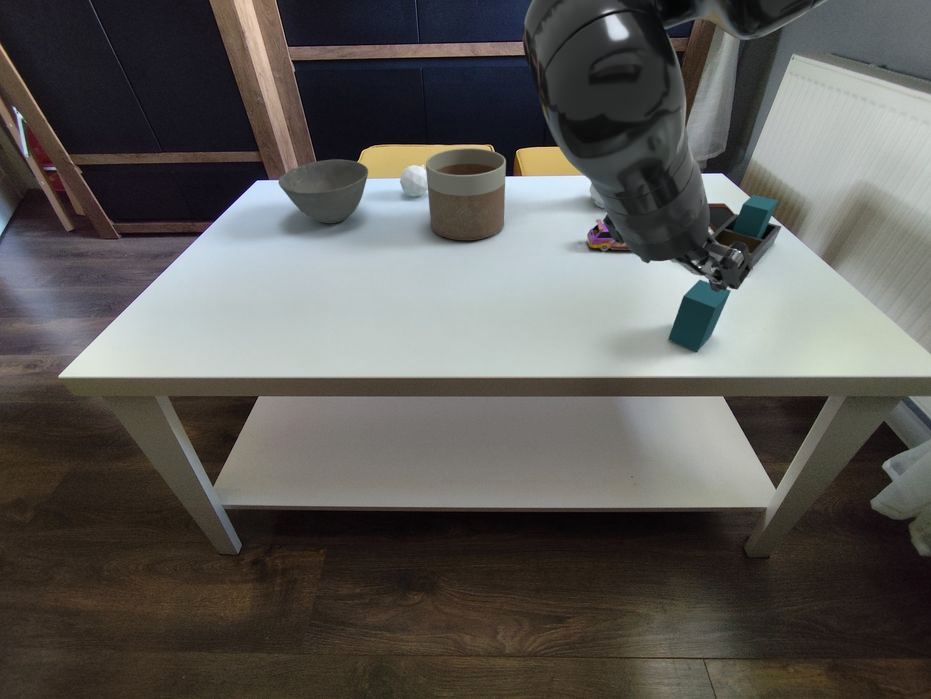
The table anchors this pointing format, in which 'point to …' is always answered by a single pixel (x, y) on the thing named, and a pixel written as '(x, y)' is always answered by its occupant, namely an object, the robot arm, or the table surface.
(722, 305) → the teal block
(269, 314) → the table surface
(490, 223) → the planter
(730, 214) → the smartphone
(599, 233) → the toy car
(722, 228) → the dark grey open box
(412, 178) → the ornament
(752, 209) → the teal cuboid
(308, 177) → the bowl
